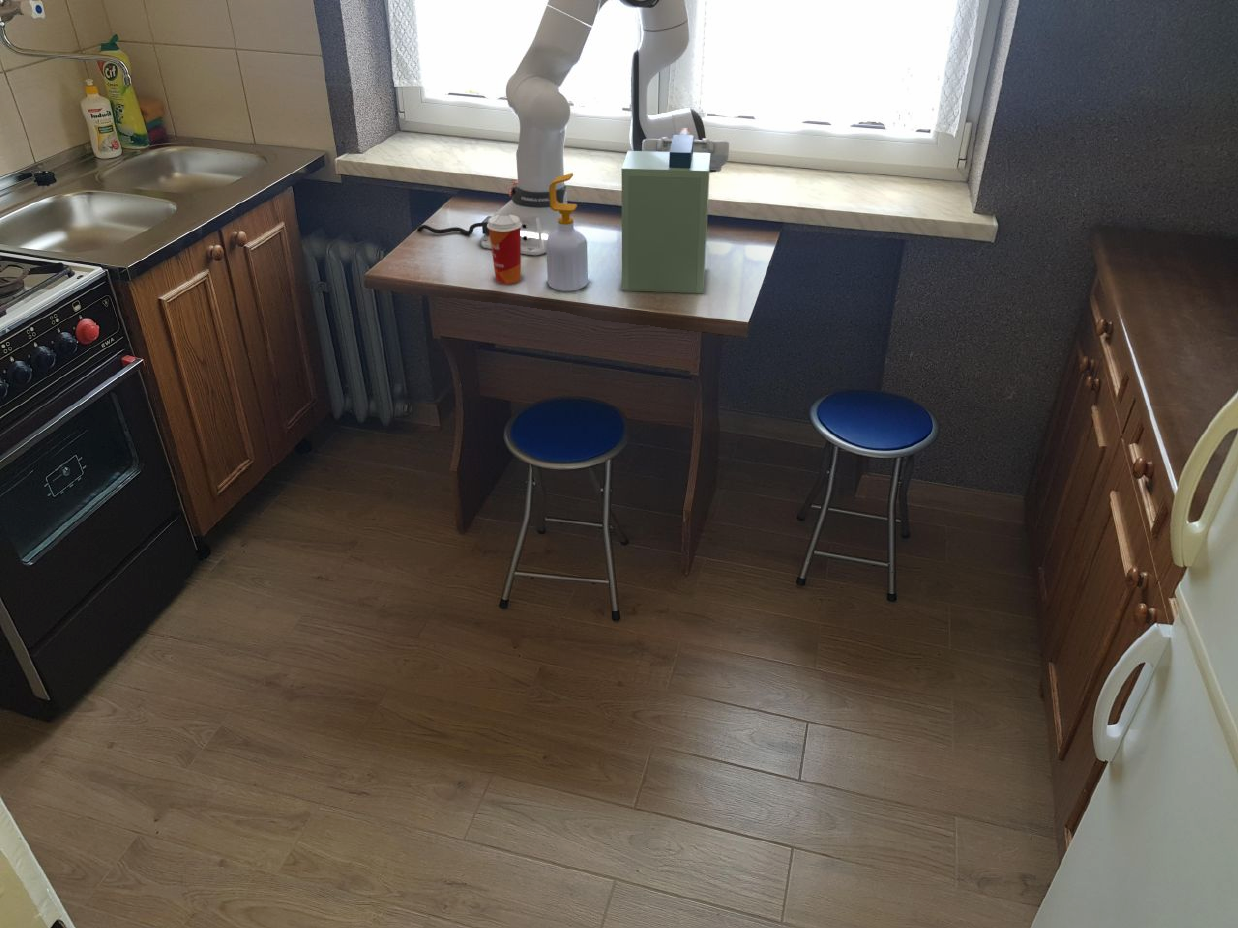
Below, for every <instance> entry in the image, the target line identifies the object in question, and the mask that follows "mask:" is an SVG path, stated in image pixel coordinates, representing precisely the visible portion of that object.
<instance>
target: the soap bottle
mask: <svg viewBox="0 0 1238 928" xmlns="http://www.w3.org/2000/svg"><path fill="white" fill-rule="evenodd" d="M573 176H574V173H573V172H570V173H568V174H564V175H563V176H559V177H557V178H556V179H555V180H554V181H553V182H552V183H551V185H550V186H549V196H550V207H551V209H552V210H554V211H559V213H560V214H562V218H559V219H558V230H557V231H555V232H553V233H552V234H551V235H550V236H549V237H548V238H547V242H546V253H545V255H546V271H547V274H546V275H547V285H548V286H549V288H552V289H554V290H557V291H562V292H571V291H572V292H573V291H574V292H575V291H578V290H581V289H583V288H585V287H586V286H587V285H589V284H588V283H589V268H588V267H589V264H588V263H589V261H588V240H587V238H586V236H585V235H584V234H583V233H582V232H580V231H579V230H577V229H575V228H574V226H575V225H574V218H573V217H571V216H570V215H571V214H573V212H575V210H576V209H577V208H578V204H577V203H568V202H567V203H558V201H557V199H556V184H557V183H561V182H564V183H565V182H567V181H569V180H571V179H572V178H573Z"/></svg>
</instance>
